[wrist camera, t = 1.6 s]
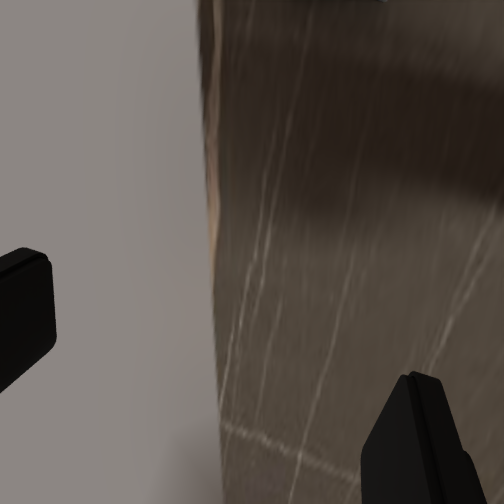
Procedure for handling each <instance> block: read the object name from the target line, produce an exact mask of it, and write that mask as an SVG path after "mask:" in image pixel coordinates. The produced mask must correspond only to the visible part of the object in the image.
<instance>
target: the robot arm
mask: <svg viewBox="0 0 504 504" xmlns="http://www.w3.org/2000/svg"><path fill="white" fill-rule="evenodd" d="M56 338H57V334H56V319H55V304H54V290H53V275H52V265H51V262H50V261H49V260H48V257H47V256H46V254H43V253H41V252H38V251H35V250H32V249H29V248H23V247H22V248H18V249H17V250H14V251H12V252H10V253H8V254H5V255H3V256H1V257H0V393H1V392H2V391H4V390H5V389H6V388H7V387H8V386H9V385H11V384H12V383H13V382H14V381H15V380H16V379H18V378H19V377H20V376H21V375H22V374H23V373H25V372H26V371H27V370H28V369H29V368H30V367H32V366H33V365H34V364H35V363H36V362H37V361H39V360H40V359H41V358H42V357H43V356H44V355H46V354H47V353H48V352H49V351H50V350H51V349H52V348H53V346H54V344H55V342H56ZM361 491H362V504H487V502H486V499H485V496H484V493H483V490H482V487H481V484H480V481H479V478H478V475H477V472H476V469H475V466H474V463H473V461H472V459H471V457H470V455H469V454H468V453H467V452H466V451H464V450H463V448H462V445H461V442H460V439H459V436H458V433H457V429H456V426H455V423H454V420H453V417H452V414H451V411H450V408H449V405H448V401H447V398H446V395H445V392H444V389H443V386H442V383H441V381H440V380H439V379H437V378H434V377H431V376H428V375H425V374H421V373H418V372H415V371H412V372H411V373H410V374H409V375H408V376H407V375H401V376H400V378H399V379H398V381H397V383H396V385H395V387H394V389H393V391H392V393H391V395H390V396H389V398H388V400H387V402H386V404H385V406H384V408H383V410H382V412H381V414H380V416H379V418H378V419H377V421H376V423H375V425H374V427H373V429H372V431H371V433H370V435H369V437H368V439H367V440H366V442H365V444H364V446H363V449H362V453H361Z"/></svg>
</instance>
